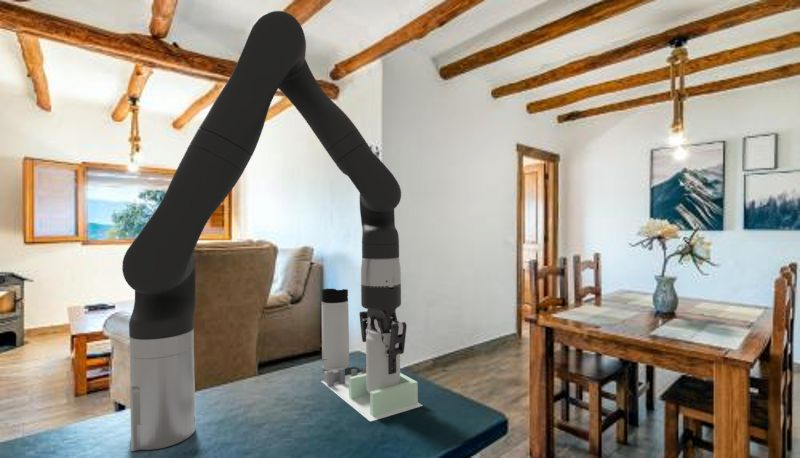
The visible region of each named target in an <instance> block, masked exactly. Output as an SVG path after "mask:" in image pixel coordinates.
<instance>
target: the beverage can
mask: <svg viewBox="0 0 800 458" xmlns="http://www.w3.org/2000/svg"><path fill="white" fill-rule="evenodd" d="M381 335H383V336H384V339H383V342H384V343H383V342H382V339H381ZM390 336H391V333H383V334H379V333H377V331H376V330H374V329H371V330H370V329H368V334H367V336H366V342H365V359H366V360H365V362H366V363H365V365H366V389H367V392H368V393H370V392H371V391H375V390H379V389H383V388H387V387H391V386H395V385H398V384H400V373H401V354H398V355H397V356H396V373H394V374H389V370H388V357H386V355H385V344H386V345H388V348H389V346H390ZM397 346H398V347H399V343H397ZM392 361H393V359H392ZM392 369H393V368H392Z"/></svg>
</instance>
